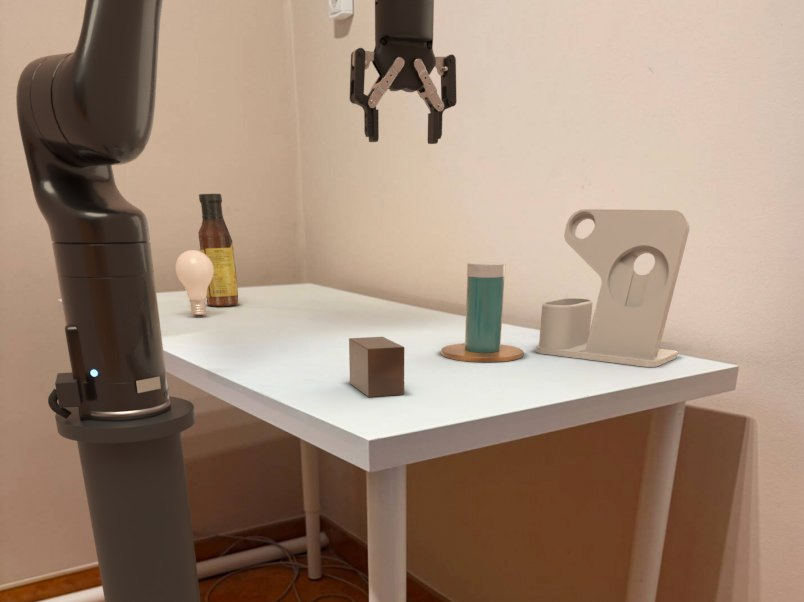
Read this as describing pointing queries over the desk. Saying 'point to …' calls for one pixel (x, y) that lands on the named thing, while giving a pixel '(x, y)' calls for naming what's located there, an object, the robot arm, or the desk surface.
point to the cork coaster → (482, 354)
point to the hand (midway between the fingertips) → (403, 142)
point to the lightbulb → (195, 278)
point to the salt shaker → (484, 306)
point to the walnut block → (376, 366)
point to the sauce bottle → (218, 252)
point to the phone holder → (619, 289)
